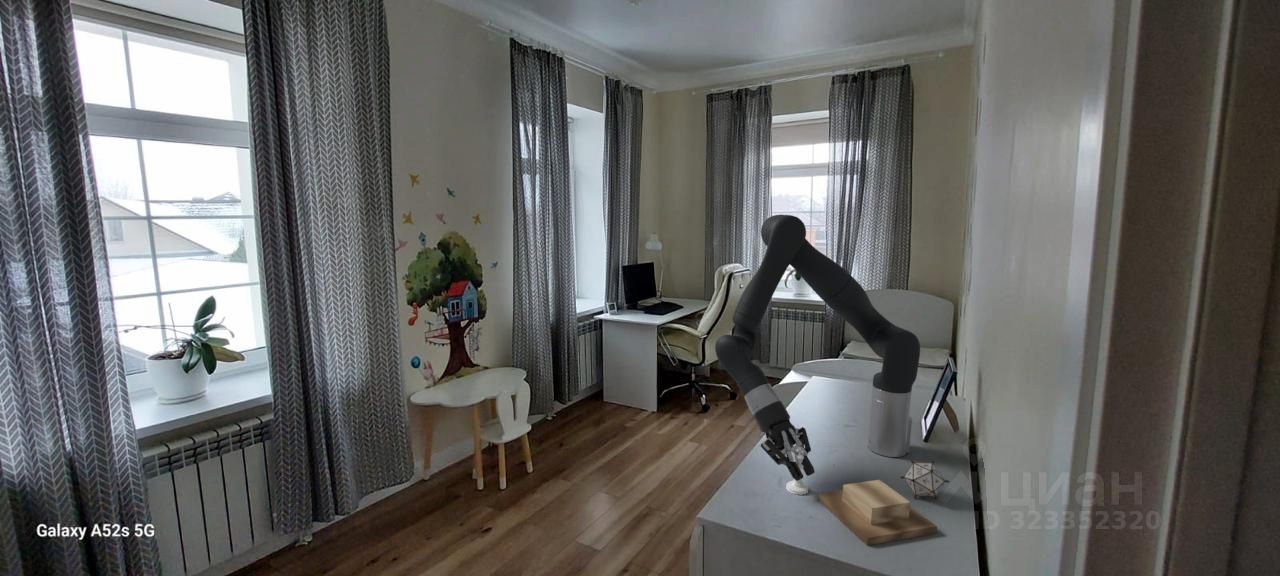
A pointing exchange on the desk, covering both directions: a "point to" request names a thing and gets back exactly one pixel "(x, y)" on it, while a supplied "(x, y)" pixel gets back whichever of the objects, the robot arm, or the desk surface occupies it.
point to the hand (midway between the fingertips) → (805, 476)
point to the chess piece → (798, 486)
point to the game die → (924, 479)
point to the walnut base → (876, 529)
